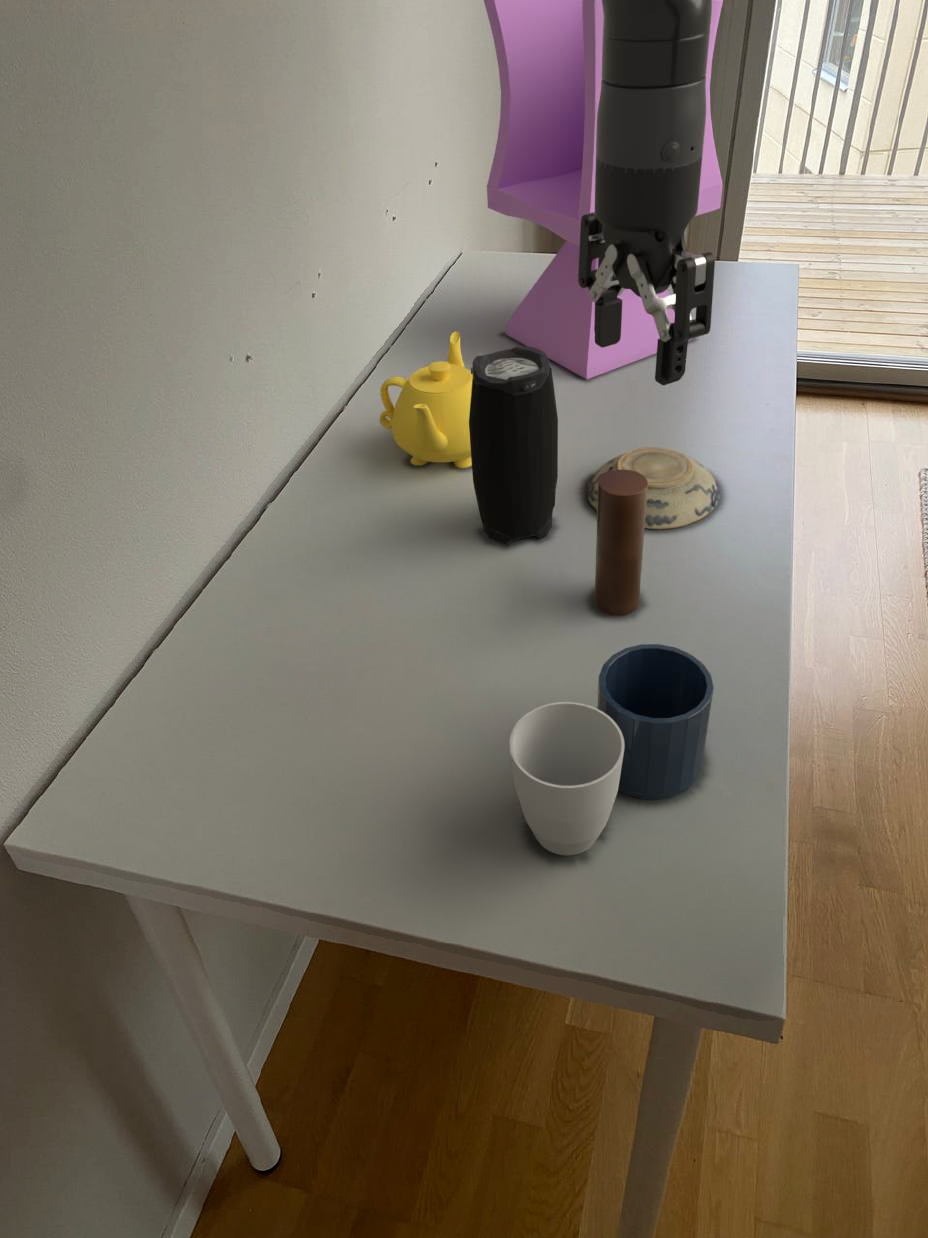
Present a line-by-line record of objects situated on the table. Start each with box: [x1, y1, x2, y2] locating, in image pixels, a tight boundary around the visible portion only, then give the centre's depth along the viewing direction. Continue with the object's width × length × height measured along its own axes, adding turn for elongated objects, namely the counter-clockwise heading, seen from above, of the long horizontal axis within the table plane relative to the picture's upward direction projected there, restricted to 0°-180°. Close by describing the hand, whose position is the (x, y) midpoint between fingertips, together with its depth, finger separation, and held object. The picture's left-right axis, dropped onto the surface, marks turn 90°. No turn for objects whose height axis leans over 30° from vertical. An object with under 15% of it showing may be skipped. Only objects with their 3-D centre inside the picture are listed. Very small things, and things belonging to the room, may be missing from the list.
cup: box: [509, 701, 624, 856], centre depth 70 cm, size 8×8×10 cm
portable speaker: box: [469, 345, 559, 545], centre depth 98 cm, size 9×9×20 cm
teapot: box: [379, 331, 473, 469], centre depth 114 cm, size 20×15×12 cm
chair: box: [483, 0, 724, 380], centre depth 126 cm, size 22×22×45 cm
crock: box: [597, 643, 715, 801], centre depth 75 cm, size 9×9×9 cm
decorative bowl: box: [585, 446, 720, 530], centre depth 107 cm, size 15×4×15 cm
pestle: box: [593, 469, 648, 617], centre depth 89 cm, size 4×4×14 cm
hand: (636, 361), depth 77 cm, fingers open, 8 cm apart
